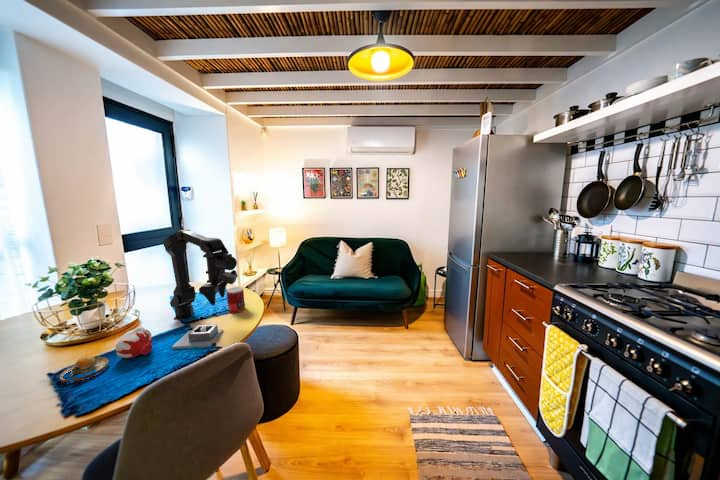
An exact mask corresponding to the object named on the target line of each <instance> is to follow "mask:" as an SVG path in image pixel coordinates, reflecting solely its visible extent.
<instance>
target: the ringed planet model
mask: <svg viewBox="0 0 720 480" xmlns="http://www.w3.org/2000/svg"><path fill="white" fill-rule="evenodd" d="M109 362H110V359H109V357H106V356H98V355H95V356H91V355H84V356H82V357H80V358H78V359H77V361H76V362H75V363H74V364H73V365H70V367H68V368H66V369H65V370H63V371H62V372H61V373H60V374H59V375H58V377H57V379H58V381H59V380H60V381H61V382H63V383H64V382H72V381H78V382H80V381H79V380H82V379H86V378H88V377H91V378H93V377H92V376H94V375H96V373H99V372H101V371H103V370H104V369H106V368H107V366H108V363H109ZM73 369H74V371H72V370H73ZM94 369H95V372H94V373H91V374H89V375H86V376H84V377H80V378H77V379H72V380H65V379H63V376H64V375H65V374H66V373H68V372H70V371H71V373H70V374H72V373H73V374H72V375H71V376H70V377H74V376H75V375H78V374H85V373H87V372H89V371H91V370H93V371H94ZM106 370H107V369H106Z"/></svg>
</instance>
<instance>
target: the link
mask: <svg viewBox="0 0 720 480" xmlns="http://www.w3.org/2000/svg"><path fill="white" fill-rule="evenodd" d="M202 327H206V332H201V331H200V328H202ZM218 329H219V328H218V324H201V325H199V324H198V325H196V326H195V327H194V328H193V329H192V330H190V331H191V332H190V333H189V334H188V336H189V342H203V341H211V340H212V339H213V337H214V336H215V335H216V334H217V333H218Z"/></svg>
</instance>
